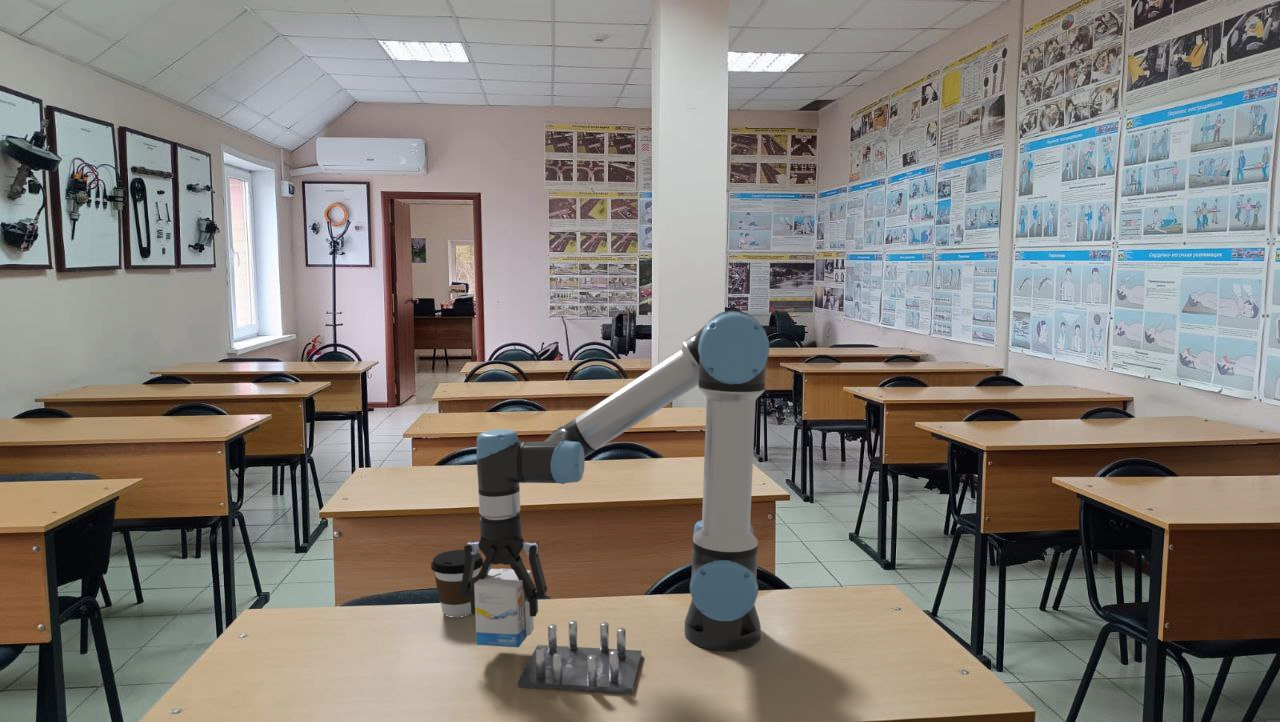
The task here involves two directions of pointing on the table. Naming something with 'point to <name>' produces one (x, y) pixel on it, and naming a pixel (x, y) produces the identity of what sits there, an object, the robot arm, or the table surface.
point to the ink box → (500, 609)
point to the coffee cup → (453, 581)
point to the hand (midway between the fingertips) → (505, 631)
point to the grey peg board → (582, 664)
